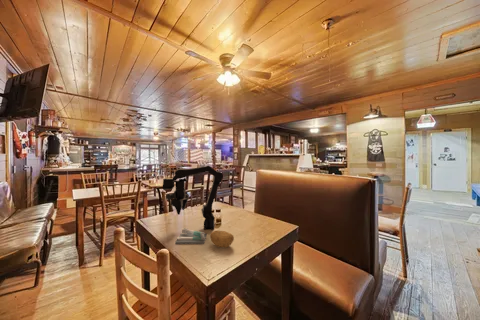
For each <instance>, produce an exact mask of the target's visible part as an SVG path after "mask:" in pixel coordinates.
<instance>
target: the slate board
mask: <svg viewBox="0 0 480 320" xmlns="http://www.w3.org/2000/svg"><path fill="white" fill-rule="evenodd" d="M207 236H208V233H204V237H199V236H195V235H191V234H187V233H180V235H179V236H177V238H176V241H175V242H174V243H175V245H204V244H205V243H206V240H207Z"/></svg>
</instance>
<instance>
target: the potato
mask: <svg viewBox="0 0 480 320" xmlns="http://www.w3.org/2000/svg"><path fill="white" fill-rule="evenodd" d="M209 237H210V242H211V243H212V244H213V245H214V246H215V247H217V248H225V249H226V248H228V247H230V246H232V244H233V242H234V240H235V239H234V238H235V237H234V235H233V233H230V232H228V231H224V230H214V231H212V232H211V233H210V235H209Z"/></svg>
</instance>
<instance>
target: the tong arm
mask: <svg viewBox="0 0 480 320" xmlns="http://www.w3.org/2000/svg"><path fill="white" fill-rule="evenodd" d="M181 234H191V235H195V236H199V237H204V234H206V233H205V231H198V230H193V229H189V228H186V227H185V228H182V229H181Z"/></svg>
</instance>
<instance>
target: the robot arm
mask: <svg viewBox="0 0 480 320" xmlns="http://www.w3.org/2000/svg"><path fill="white" fill-rule="evenodd" d="M202 173H209V174H210V175H212V176H213V177H212V185H211V188H210V190H209V194H208V197H207V200H206V202H205V204H202V208H201V214H202V218H204V221H203V230H212V231H213V230H215V215H214V213H213V203H214V201H215V197H216V194H217V192H218V189H219V186H220V184H221V183H222V181H223V179H224V174H223V172H221V171H219V170H216V169H214V168H212V166H210V165H206V166H199V167H192V168H178V169H176V170H175V172H174V176H173V177H172V178H162V179H163V181H162V182H163V183H162V189H163V191H164V190H165V191H166V190H173V189H174V188H175V190H174V192H172V193H167V194H166V196H165V199H166V200H167V201H170V200H171V201H170V206H172V207H174V208H175V210H176V213H177V214H176V215H181V211H184V210H185V209H186V206H187V203H188V201H189V199H190V195H189V194H188V193H186V192H187V191H186V190H187V189H186V187H185V186H186V185H185V182H188V178H186V177H188V176H191V175H197V174H202Z"/></svg>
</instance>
